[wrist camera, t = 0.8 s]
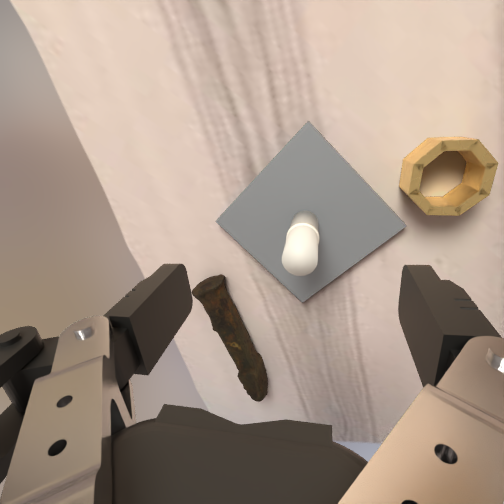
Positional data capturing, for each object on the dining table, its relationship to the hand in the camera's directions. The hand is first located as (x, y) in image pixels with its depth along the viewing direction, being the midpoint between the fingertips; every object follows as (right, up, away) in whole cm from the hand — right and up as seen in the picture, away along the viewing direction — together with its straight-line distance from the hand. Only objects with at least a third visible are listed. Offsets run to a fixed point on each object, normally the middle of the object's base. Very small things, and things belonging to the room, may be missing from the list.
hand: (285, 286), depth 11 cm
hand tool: (-2, -9, +30) cm, 32 cm away
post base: (+5, +5, +21) cm, 22 cm away
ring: (+16, +9, +17) cm, 25 cm away
